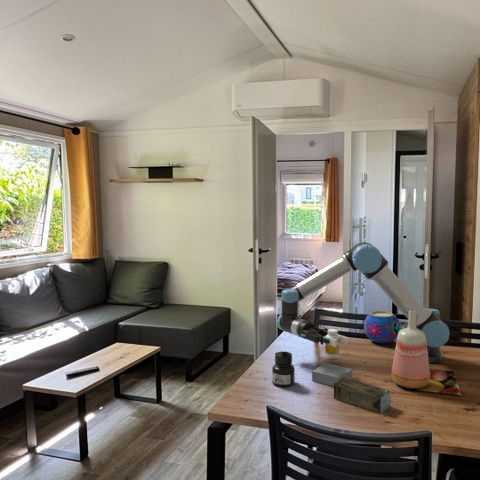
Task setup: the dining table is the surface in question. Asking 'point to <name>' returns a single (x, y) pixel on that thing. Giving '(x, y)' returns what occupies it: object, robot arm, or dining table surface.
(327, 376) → the base block
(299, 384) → the dining table surface
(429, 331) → the robot arm
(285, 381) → the ink bottle
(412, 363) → the vase
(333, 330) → the supplement bottle
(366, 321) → the ceramic pot
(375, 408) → the beverage carton
